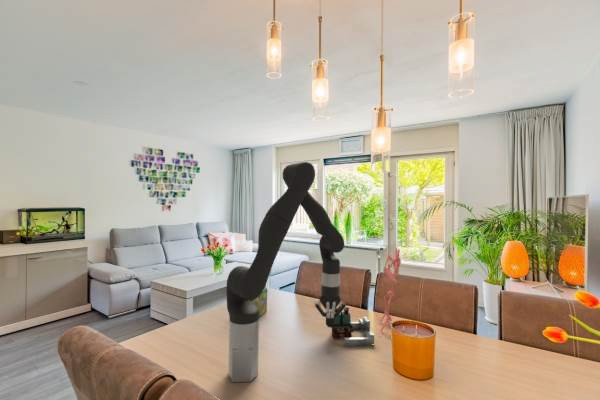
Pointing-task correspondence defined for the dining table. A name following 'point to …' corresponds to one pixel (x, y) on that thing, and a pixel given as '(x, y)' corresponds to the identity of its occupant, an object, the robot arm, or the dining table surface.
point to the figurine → (387, 272)
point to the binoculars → (342, 324)
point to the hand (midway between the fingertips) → (329, 326)
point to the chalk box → (262, 302)
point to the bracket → (365, 328)
